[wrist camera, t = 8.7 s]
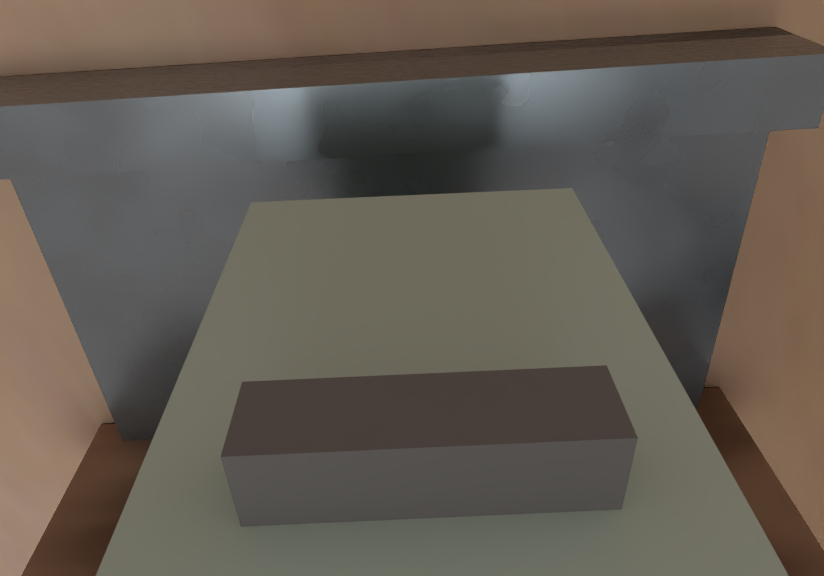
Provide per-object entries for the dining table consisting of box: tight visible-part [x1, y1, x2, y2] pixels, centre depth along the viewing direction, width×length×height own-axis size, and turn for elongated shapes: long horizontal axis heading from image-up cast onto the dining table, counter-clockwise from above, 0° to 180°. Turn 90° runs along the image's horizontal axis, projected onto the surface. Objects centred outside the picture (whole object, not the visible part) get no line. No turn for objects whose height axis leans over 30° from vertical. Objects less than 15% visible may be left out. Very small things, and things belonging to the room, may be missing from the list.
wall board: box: [22, 387, 824, 576], centre depth 18 cm, size 20×2×7 cm, turn 93°
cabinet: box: [96, 188, 789, 576], centre depth 9 cm, size 5×9×8 cm, turn 2°
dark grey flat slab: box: [0, 27, 824, 441], centre depth 17 cm, size 18×11×2 cm, turn 93°
